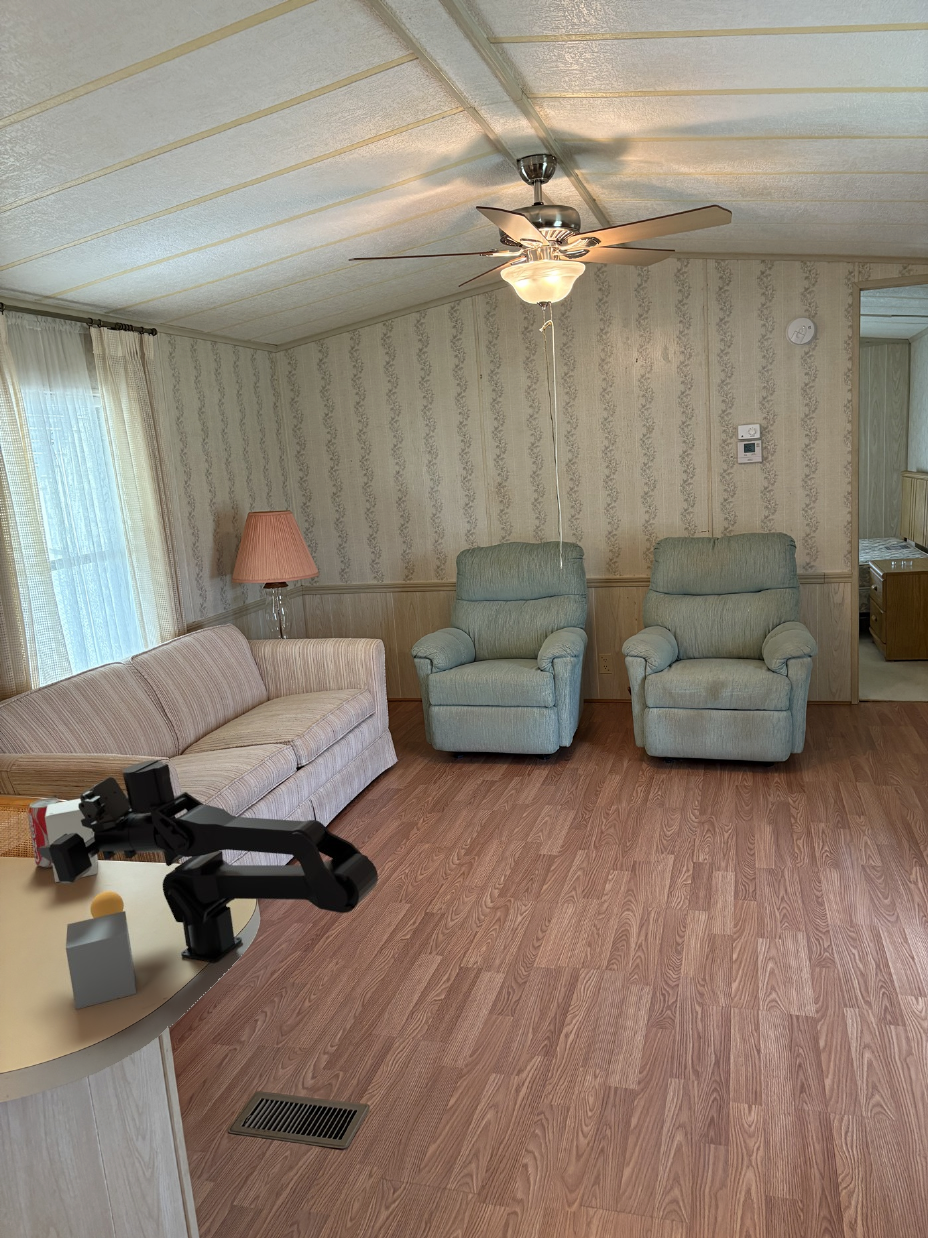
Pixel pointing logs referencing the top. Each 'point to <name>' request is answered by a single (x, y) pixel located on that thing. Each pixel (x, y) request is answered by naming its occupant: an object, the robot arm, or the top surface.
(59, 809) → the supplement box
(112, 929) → the pale grey box
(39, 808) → the beverage can
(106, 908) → the ball
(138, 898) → the top surface
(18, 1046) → the top surface
